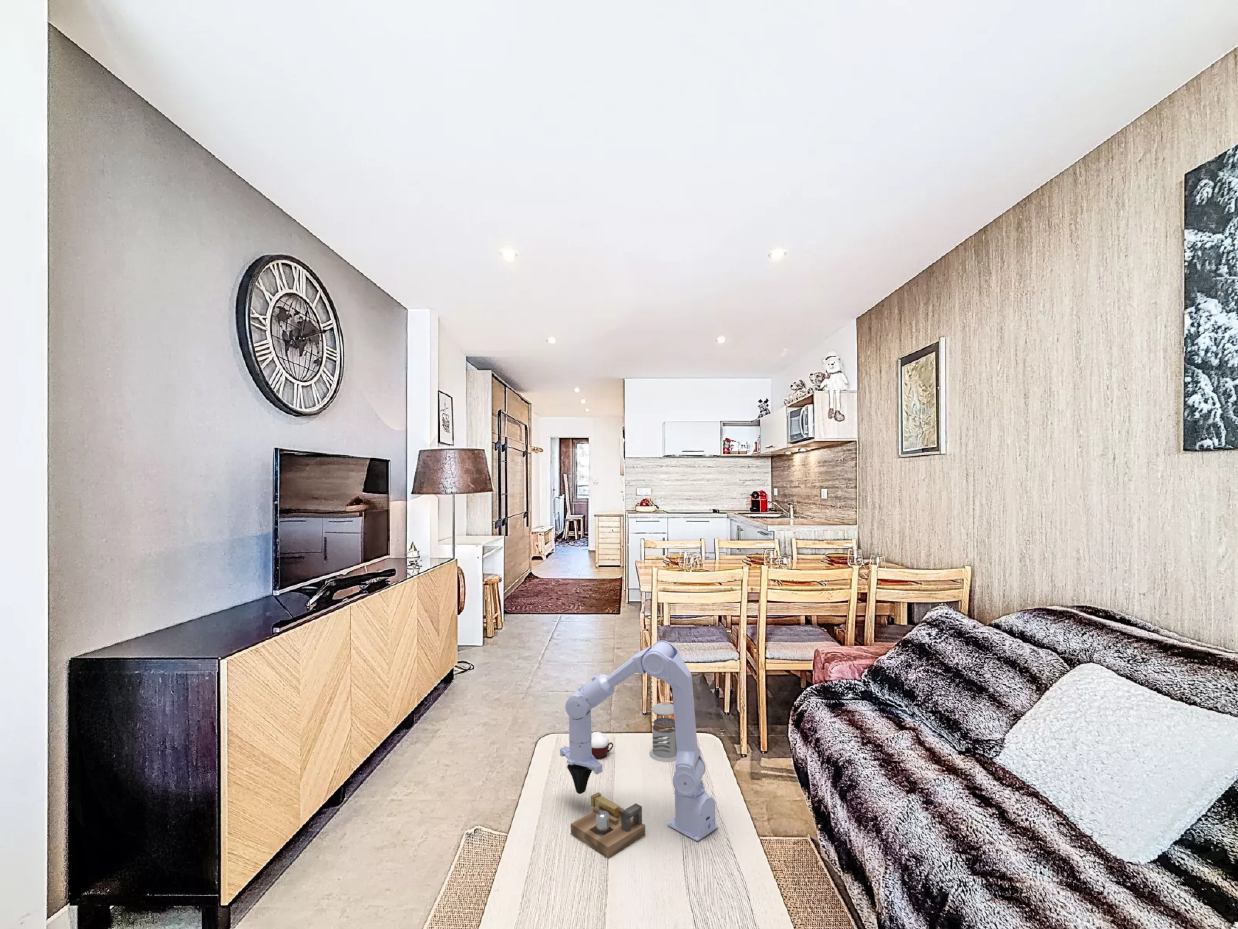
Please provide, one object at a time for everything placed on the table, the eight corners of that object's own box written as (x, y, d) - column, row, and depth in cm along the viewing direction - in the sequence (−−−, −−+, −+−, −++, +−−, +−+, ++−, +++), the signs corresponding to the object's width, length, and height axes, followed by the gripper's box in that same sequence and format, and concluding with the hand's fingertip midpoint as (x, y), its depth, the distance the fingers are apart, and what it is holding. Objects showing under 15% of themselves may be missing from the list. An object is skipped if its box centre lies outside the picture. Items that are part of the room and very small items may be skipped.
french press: (658, 744, 196) (657, 664, 196) (692, 752, 190) (691, 670, 190) (643, 757, 187) (642, 673, 187) (678, 766, 181) (677, 680, 181)
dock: (645, 835, 148) (644, 808, 148) (608, 858, 140) (608, 829, 140) (607, 813, 157) (607, 788, 157) (570, 834, 149) (570, 806, 149)
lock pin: (620, 814, 152) (620, 804, 152) (613, 819, 150) (612, 808, 150) (598, 802, 158) (598, 792, 158) (590, 806, 156) (590, 795, 156)
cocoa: (613, 753, 191) (615, 713, 191) (610, 762, 185) (612, 721, 185) (583, 750, 192) (584, 710, 193) (579, 758, 186) (580, 718, 186)
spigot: (611, 838, 147) (611, 812, 147) (604, 845, 144) (604, 819, 144) (600, 834, 149) (600, 809, 149) (593, 841, 146) (593, 815, 146)
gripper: (550, 735, 163) (551, 787, 163) (587, 753, 153) (588, 808, 153) (571, 727, 168) (571, 777, 168) (608, 744, 158) (609, 797, 158)
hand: (581, 791), depth 161 cm, fingers closed
